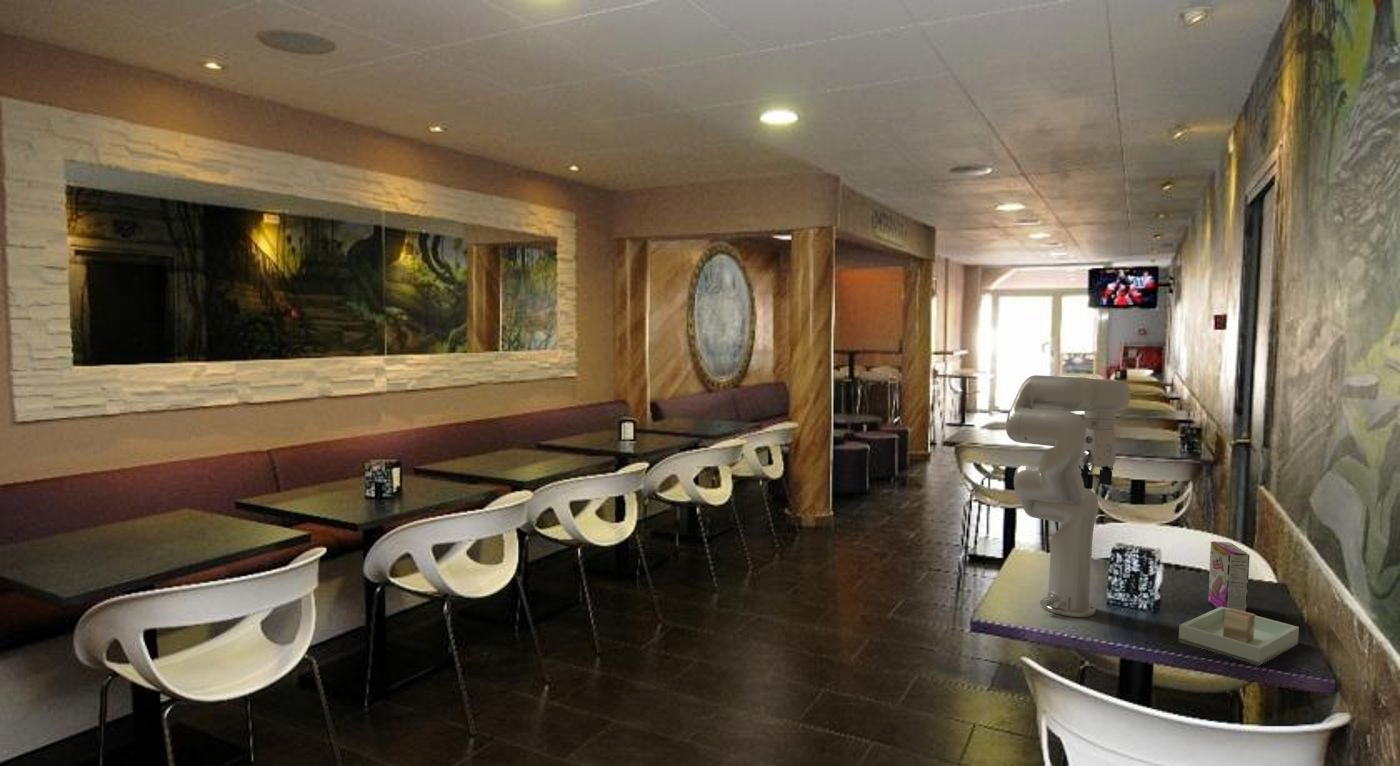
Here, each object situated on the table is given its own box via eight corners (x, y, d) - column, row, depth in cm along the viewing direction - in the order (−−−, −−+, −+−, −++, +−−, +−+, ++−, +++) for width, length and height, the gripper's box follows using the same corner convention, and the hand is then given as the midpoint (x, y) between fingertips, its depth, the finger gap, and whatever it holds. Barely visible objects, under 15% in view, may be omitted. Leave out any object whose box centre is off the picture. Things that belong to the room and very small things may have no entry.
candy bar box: (1206, 601, 210) (1209, 540, 209) (1227, 603, 209) (1231, 541, 208) (1224, 616, 199) (1228, 552, 198) (1247, 618, 198) (1251, 553, 197)
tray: (1258, 666, 170) (1259, 648, 170) (1178, 641, 183) (1179, 624, 183) (1297, 644, 183) (1298, 627, 182) (1220, 622, 196) (1221, 606, 195)
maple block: (1245, 644, 180) (1246, 618, 179) (1222, 637, 183) (1224, 612, 183) (1253, 639, 182) (1255, 614, 182) (1231, 633, 186) (1233, 608, 185)
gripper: (1095, 428, 210) (1092, 492, 211) (1129, 424, 220) (1125, 485, 221) (1068, 424, 216) (1065, 487, 217) (1102, 421, 226) (1098, 480, 227)
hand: (1095, 486), depth 219 cm, fingers open, 9 cm apart
